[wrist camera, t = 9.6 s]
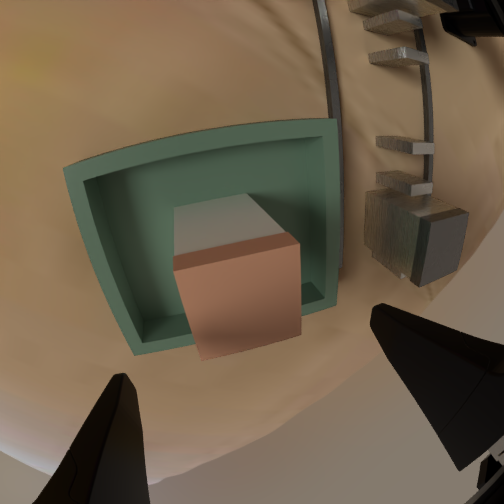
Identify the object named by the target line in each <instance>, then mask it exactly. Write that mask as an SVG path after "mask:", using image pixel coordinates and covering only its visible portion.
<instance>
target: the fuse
mask: <svg viewBox="0 0 504 504" xmlns="http://www.w3.org/2000/svg"><path fill="white" fill-rule="evenodd" d="M173 273H174V276H175V280H176V283H177V287H178V290H179V293H180V297H181V300H182V303H183V307H184V310H185V313H186V316H187V319H188V322H189V325H190V328H191V332H192V335H193V338H194V340H195V343H196V346H197V349H198V352H199V355H200V358H201V361H204V360H208V359H213V358H217V357H221V356H226V355H230V354H234V353H238V352H242V351H246V350H250V349H254V348H257V347H261V346H265V345H268V344H272V343H276V342H279V341H282V340H286V339H289V338H293V337H296V336H299V335H301V261H300V243H299V242H298V241H297V240H296V239H295V238H294V237H293V236H292V235H291V234H290V233H289V232H285V231H284V230H283V229H282V228H281V227H280V226H279V225H278V224H277V223H276V222H275V221H274V220H273V219H272V218H271V217H270V216H269V215H268V214H267V213H266V212H265V211H264V210H263V209H262V208H261V207H260V206H259V205H258V204H257V203H256V202H255V201H254V200H253V199H252V198H251V197H250V196H249V195H248V194H247V193H245V194H239V195H234V196H229V197H223V198H218V199H213V200H208V201H203V202H198V203H193V204H188V205H184V206H179V207H174V256H173Z"/></svg>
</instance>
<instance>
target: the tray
mask: <svg viewBox="0 0 504 504" xmlns="http://www.w3.org/2000/svg"><path fill="white" fill-rule="evenodd" d="M63 172H64V176H65V180H66V184H67V188H68V192H69V196H70V199H71V203H72V206H73V210H74V213H75V216H76V220H77V223H78V226H79V229H80V232H81V235H82V238H83V241H84V244H85V247H86V250H87V252H88V255H89V258H90V260H91V263H92V266H93V268H94V271H95V273H96V276H97V278H98V281H99V283H100V286H101V288H102V290H103V293H104V295H105V297H106V299H107V302H108V304H109V306H110V308H111V310H112V313H113V315H114V317H115V319H116V321H117V323H118V325H119V327H120V329H121V331H122V333H123V335H124V337H125V339H126V341H127V343H128V345H129V347H130V348H131V350H132V352H133V354H134V356H135V355H141V354H147V353H152V352H158V351H163V350H168V349H173V348H178V347H183V346H188V345H192V344H196V343H195V340H194V338H193V335H192V332H191V328H190V325H189V322H188V319H187V316H186V313H185V310H184V307H183V303H182V300H181V297H180V293H179V290H178V287H177V283H176V280H175V276H174V273H173V256H174V207H179V206H184V205H188V204H193V203H198V202H203V201H208V200H213V199H218V198H223V197H229V196H234V195H239V194H245V193H247V194H248V195H249V196H250V197H251V198H252V199H253V200H254V201H255V202H256V203H257V204H258V205H259V206H260V207H261V208H262V209H263V210H264V211H265V212H266V213H267V214H268V215H269V216H270V217H271V218H272V219H273V220H274V221H275V222H276V223H277V224H278V225H279V226H280V227H281V228H282V229H283V230H284V231H285V232H289V233H290V234H291V235H292V236H293V237H294V238H295V239H296V240H297V241H298V242H299V243H300V261H301V316H304V315H308V314H311V313H314V312H317V311H321V310H324V309H327V308H330V307H333V306H336V304H337V290H338V273H339V250H340V168H339V145H338V128H337V119H333V118H307V119H290V120H276V121H265V122H256V123H247V124H239V125H231V126H224V127H218V128H211V129H205V130H200V131H194V132H189V133H183V134H178V135H174V136H169V137H164V138H160V139H155V140H151V141H147V142H143V143H139V144H135V145H131V146H127V147H124V148H120V149H117V150H113V151H110V152H106V153H103V154H100V155H96V156H93V157H90V158H87V159H84V160H81V161H79V162H76V163H74V164H71V165H69V166H67V167H64V168H63Z"/></svg>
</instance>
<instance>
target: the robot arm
mask: <svg viewBox="0 0 504 504" xmlns="http://www.w3.org/2000/svg"><path fill="white" fill-rule="evenodd" d="M456 1H457V5H458V8H459V11H457V12H450V13H449V12H444V13H440V17H441V21H442V25H443V28H444V30H445V31H446V32H448V33H450V34H452V35H454V36H455V37H457V38H459V39H461V40H463V41H465V42H466V43H468V44H470V45H472V46H476V45H477V44H476V39H475V37H504V0H456ZM370 327H371V329H372V331H373V333H374V335H375V337H376V338H377V340H378V342H379V344H380V346H381V348H382V349H383V351H384V353H385V355H386V357H387V358H388V360H389V361H390V363H391V364H392V366H393V367H394V369H395V370H396V372H397V373H398V375H399V376H400V378H401V379H402V381H403V382H404V384H405V385H406V387H407V388H408V390H409V391H410V393H411V394H412V396H413V397H414V398H415V400H416V402H417V404H418V405H419V407H420V408H421V410H422V411H423V413H424V414H425V416H426V417H427V419H428V421H429V422H430V424H431V426H432V427H433V429H434V430H435V432H436V434H437V435H438V437H439V439H440V441H441V442H442V444H443V445H444V447H445V449H446V450H447V452H448V454H449V455H450V457H451V459H452V461H453V462H454V464H455V466H456V468H457V469H458V471H461V470H463V469H464V468H465V467H467V466H468V465H469V464H471V463H472V462H473V461H474V460H476V459H477V458H478V457H480V456H481V455H482V454H483V453H484V452H486V451H487V450H488V451H489V452H490V454H489V455H488V456H487V457H486V458H485V459H484V460H483V461H482V462H481V465H480V472H479V477H478V483H477V488H478V489H479V491H478V492H477V493H476V494H475V495H474V496H473V497H472V498H470V499H469V500H468V501H467V502H466V503H465V504H504V345H502V344H499V343H494V342H490V341H487V340H484V339H480V338H477V337H474V336H471V335H468V334H466V333H463V332H460V331H458V330H455V329H452V328H449V327H447V326H444V325H441V324H438V323H436V322H433V321H430V320H428V319H425V318H422V317H420V316H417V315H414V314H411V313H409V312H406V311H403V310H401V309H398V308H395V307H392V306H390V305H387V304H384V303H381V304H378V305H376V306H374V307H373V308H372V313H371V319H370ZM32 504H150V499H149V492H148V484H147V476H146V466H145V456H144V443H143V430H142V424H141V418H140V412H139V405H138V398H137V392H136V389H135V387H134V385H133V383H132V382H131V380H130V379H129V377H128V376H127V374H125V373H119V374H114V375H113V377H112V378H111V380H110V381H109V383H108V384H107V386H106V388H105V389H104V391H103V392H102V394H101V396H100V397H99V399H98V400H97V402H96V404H95V405H94V407H93V409H92V410H91V412H90V414H89V415H88V417H87V419H86V420H85V422H84V424H83V425H82V427H81V429H80V430H79V432H78V434H77V436H76V437H75V439H74V441H73V442H72V444H71V446H70V450H68V451H67V453H66V455H65V456H64V458H63V460H62V462H61V463H60V465H59V467H58V468H57V470H56V471H55V473H54V474H53V476H52V477H51V479H50V480H49V482H48V483H47V485H46V486H45V487H44V489H43V490H42V492H41V493H40V495H39V496H38V498H37V499H36V500H35V501H34V502H33V503H32Z"/></svg>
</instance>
